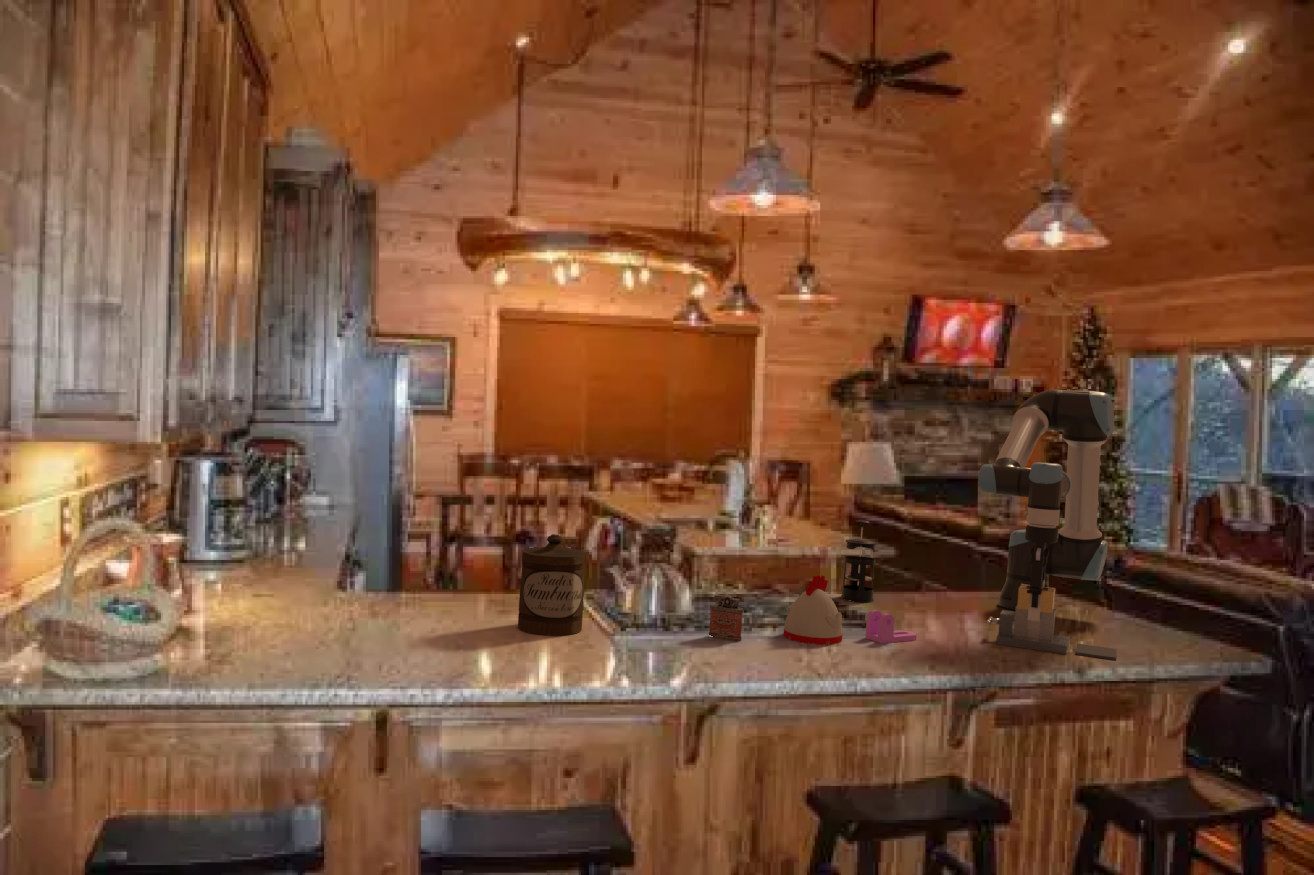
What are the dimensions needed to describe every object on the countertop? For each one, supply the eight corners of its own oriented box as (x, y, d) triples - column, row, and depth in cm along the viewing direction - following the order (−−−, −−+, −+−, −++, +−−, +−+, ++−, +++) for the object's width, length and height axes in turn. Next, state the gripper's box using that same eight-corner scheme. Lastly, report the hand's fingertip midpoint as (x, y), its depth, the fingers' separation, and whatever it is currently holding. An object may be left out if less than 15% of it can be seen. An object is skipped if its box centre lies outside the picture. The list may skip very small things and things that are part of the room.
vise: (989, 633, 279) (994, 571, 279) (1068, 644, 272) (1073, 580, 271) (983, 642, 268) (988, 577, 268) (1066, 654, 261) (1071, 587, 260)
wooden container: (520, 635, 245) (526, 538, 244) (515, 621, 259) (520, 529, 258) (586, 636, 248) (591, 540, 247) (577, 622, 262) (582, 531, 261)
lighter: (743, 639, 254) (746, 597, 254) (738, 642, 251) (741, 599, 251) (711, 634, 258) (714, 592, 257) (706, 637, 255) (708, 594, 254)
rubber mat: (1077, 645, 271) (1077, 643, 271) (1116, 651, 268) (1116, 648, 268) (1075, 654, 261) (1075, 652, 261) (1116, 660, 257) (1116, 657, 257)
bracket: (881, 643, 260) (883, 614, 260) (865, 638, 265) (867, 610, 265) (921, 640, 267) (923, 612, 267) (904, 635, 272) (906, 607, 271)
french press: (877, 603, 312) (883, 523, 311) (845, 601, 312) (850, 521, 311) (867, 595, 324) (873, 518, 323) (836, 594, 324) (841, 517, 323)
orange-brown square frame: (1020, 603, 274) (1021, 583, 274) (1053, 607, 271) (1055, 587, 271) (1017, 608, 267) (1018, 588, 267) (1051, 613, 264) (1053, 592, 264)
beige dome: (853, 640, 262) (857, 578, 261) (820, 647, 252) (824, 583, 251) (805, 629, 271) (809, 569, 271) (772, 635, 261) (776, 573, 261)
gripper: (1029, 520, 279) (1022, 608, 280) (1022, 527, 260) (1015, 622, 261) (1060, 523, 276) (1053, 612, 277) (1055, 531, 257) (1048, 626, 258)
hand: (1034, 617), depth 269 cm, fingers closed on orange-brown square frame, 8 cm apart
